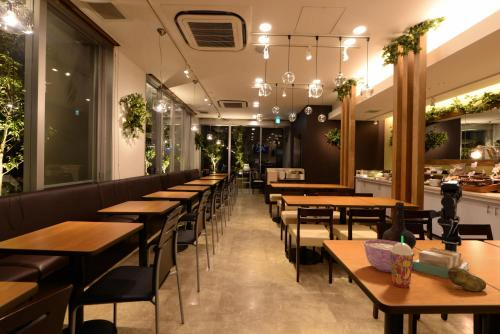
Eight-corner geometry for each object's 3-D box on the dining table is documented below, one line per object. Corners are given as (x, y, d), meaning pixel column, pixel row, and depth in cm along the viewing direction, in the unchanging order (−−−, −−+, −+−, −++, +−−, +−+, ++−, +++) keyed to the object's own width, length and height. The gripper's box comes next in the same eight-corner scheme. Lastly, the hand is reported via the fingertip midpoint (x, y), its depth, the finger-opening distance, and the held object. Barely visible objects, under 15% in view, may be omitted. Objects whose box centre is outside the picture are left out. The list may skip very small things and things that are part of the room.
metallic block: (433, 264, 154) (433, 247, 154) (460, 271, 145) (461, 253, 145) (418, 270, 145) (419, 252, 145) (446, 277, 135) (447, 258, 135)
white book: (426, 260, 160) (426, 252, 160) (468, 268, 147) (468, 260, 147) (411, 269, 144) (411, 261, 144) (456, 280, 131) (456, 271, 131)
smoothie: (385, 281, 128) (387, 233, 128) (404, 281, 129) (406, 233, 129) (397, 289, 120) (398, 238, 120) (417, 289, 121) (418, 238, 121)
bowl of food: (418, 276, 135) (419, 250, 135) (375, 276, 134) (375, 250, 133) (394, 262, 155) (395, 239, 155) (356, 262, 153) (356, 239, 153)
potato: (487, 296, 115) (488, 275, 115) (447, 288, 122) (447, 268, 122) (485, 289, 122) (486, 269, 122) (447, 282, 129) (447, 263, 129)
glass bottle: (396, 255, 167) (397, 204, 167) (375, 247, 185) (376, 200, 184) (423, 254, 171) (424, 204, 171) (400, 245, 189) (401, 200, 189)
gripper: (437, 203, 171) (436, 231, 171) (426, 205, 158) (425, 235, 159) (460, 205, 163) (459, 234, 163) (451, 208, 150) (450, 240, 151)
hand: (448, 236), depth 159 cm, fingers open, 9 cm apart
